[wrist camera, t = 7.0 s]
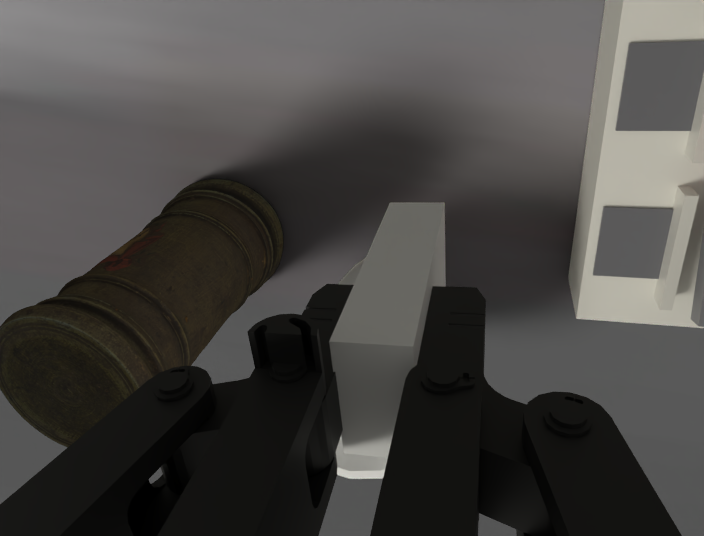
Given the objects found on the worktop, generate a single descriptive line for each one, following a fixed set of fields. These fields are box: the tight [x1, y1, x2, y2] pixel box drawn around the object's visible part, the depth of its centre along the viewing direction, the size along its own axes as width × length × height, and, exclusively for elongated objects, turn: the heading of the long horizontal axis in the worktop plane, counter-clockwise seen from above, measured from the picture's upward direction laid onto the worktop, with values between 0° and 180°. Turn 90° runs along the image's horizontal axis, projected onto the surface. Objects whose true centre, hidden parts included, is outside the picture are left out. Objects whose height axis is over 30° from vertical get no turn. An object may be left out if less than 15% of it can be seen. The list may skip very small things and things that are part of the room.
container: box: [0, 179, 283, 447], centre depth 34 cm, size 9×9×18 cm
